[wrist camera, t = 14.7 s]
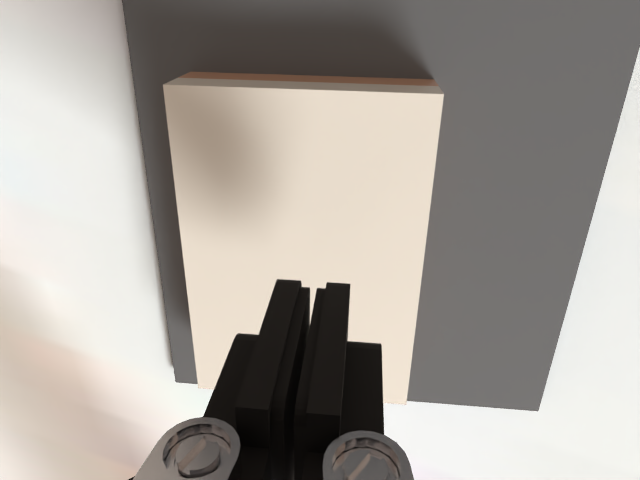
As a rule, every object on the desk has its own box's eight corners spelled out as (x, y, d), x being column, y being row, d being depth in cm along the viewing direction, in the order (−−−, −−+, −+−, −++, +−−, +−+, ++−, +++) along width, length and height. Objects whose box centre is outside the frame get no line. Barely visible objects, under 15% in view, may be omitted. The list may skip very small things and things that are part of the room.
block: (434, 79, 14) (190, 71, 15) (443, 94, 12) (162, 84, 13) (402, 361, 19) (215, 347, 19) (406, 404, 17) (198, 388, 17)
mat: (28, -756, 9) (11, -795, 9) (869, -834, 8) (898, -883, 8) (179, 373, 21) (175, 382, 20) (534, 401, 20) (538, 411, 19)
